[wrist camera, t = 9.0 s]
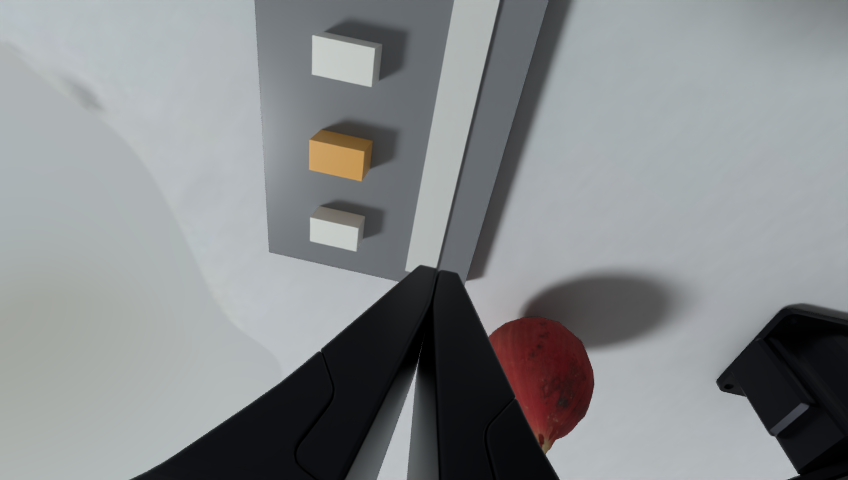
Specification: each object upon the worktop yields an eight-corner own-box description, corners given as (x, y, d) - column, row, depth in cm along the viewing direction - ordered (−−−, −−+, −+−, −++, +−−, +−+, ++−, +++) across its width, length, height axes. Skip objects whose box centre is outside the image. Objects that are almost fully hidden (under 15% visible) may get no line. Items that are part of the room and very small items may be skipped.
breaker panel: (583, -133, 13) (598, -153, 11) (462, 282, 23) (459, 310, 21) (261, -195, 14) (221, -226, 12) (278, 240, 23) (258, 264, 21)
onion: (530, 269, 22) (546, 393, 15) (600, 325, 23) (643, 461, 17) (460, 322, 25) (448, 447, 18) (526, 369, 26) (537, 501, 20)
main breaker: (372, 140, 18) (364, 151, 17) (369, 169, 19) (361, 181, 18) (321, 129, 18) (309, 139, 17) (320, 158, 19) (308, 169, 18)
